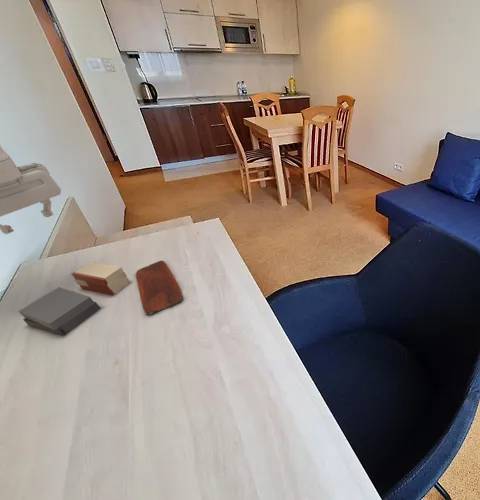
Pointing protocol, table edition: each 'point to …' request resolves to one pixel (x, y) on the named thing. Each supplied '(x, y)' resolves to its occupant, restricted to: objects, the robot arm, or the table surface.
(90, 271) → the white book
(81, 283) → the white book pile
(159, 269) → the wooden tablet
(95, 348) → the table surface
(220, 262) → the table surface
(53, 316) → the grey book pile
